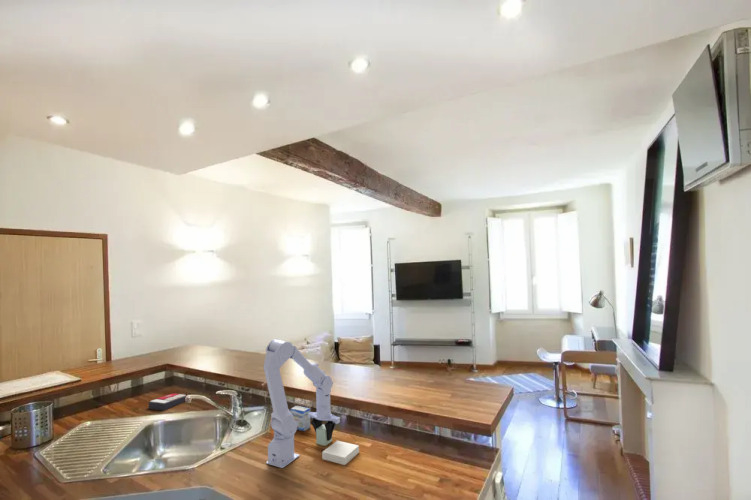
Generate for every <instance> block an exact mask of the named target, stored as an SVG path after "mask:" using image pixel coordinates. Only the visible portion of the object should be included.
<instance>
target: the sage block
mask: <svg viewBox="0 0 751 500" xmlns="http://www.w3.org/2000/svg"><path fill="white" fill-rule="evenodd" d="M315 437H316V439H315V440H316V444H317V445H320V446H325V447H326V446H328V445H329V444H331V442H333V437H332V438H331V439H330V440H329V441H327V432H326V428H325V424H322V425H321V426H320V427H318V428H317V429H316V432H315Z"/></svg>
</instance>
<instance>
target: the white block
mask: <svg viewBox="0 0 751 500" xmlns="http://www.w3.org/2000/svg"><path fill="white" fill-rule="evenodd" d="M321 453H322V454H321V455H322V456H321V457H322V460H324V461H327V462H333V463H336V464H339V465H342V466H345V465H347V464H348V463H349V462H350V461H351V460H352V459H354V458H355V457H356V456H357V455H358V454H359V453H360V445H358V444H355V443H350V442H345V441H341V440H335V442H333V443H332V444H330V446H328V447H327V448H325V449H324V450H323V451H322V452H321Z"/></svg>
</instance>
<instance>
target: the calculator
mask: <svg viewBox="0 0 751 500" xmlns="http://www.w3.org/2000/svg"><path fill="white" fill-rule="evenodd" d="M186 396H187V395H186V394H179V393H170V394H167V395H164V396H160V397H157V398H156V399H152V400H150V401H149V402H148V409H149V410H154V411H155V410H157V411H163V412H164V411H166V410H168V409H171V408H173V407H175V406H177V405H178V406H179V405H180V404H183V403H185V402H186V401H185V397H186ZM184 401H185V402H184Z"/></svg>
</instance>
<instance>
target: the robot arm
mask: <svg viewBox="0 0 751 500" xmlns="http://www.w3.org/2000/svg"><path fill="white" fill-rule="evenodd" d="M265 352H266V354H265V358H264V361H263V362H264V363H263V372H264V376H265V381H266V386H267V390H268V394H269V397H270V398H269V399H270V403H271V406H272V413H271V414H270V416H271V420H270V427H271V430H273V439H271V441H269V443H268V446H267V461H265V462H266V464H267V465H271V466H274V467H278V468H280V469H283V468H285V467H287V465H289V464H290V463H292V462H293V461H294V460H297V458H299V457H300V454H298V453H295V434H296V432H297V422H296V421H295V420H294V418H293V415H292V413H291V409H289V406H288V402H287V398H286V397H287V395H286V392H285V388H284V384H283V380H282V379H283V378H282V376H281V374H282V373H281V370H280V369H281V367H282V366H283V365H284V364H285V363H286V362H287V361H288V360H290V359H291V360H292V361H294V362H295V363H296V364H297V365H299V367H301V369H303V374H304V376H305V377H307V378H308V379H309V380H310V381H311V382H312V384H313V385H312V386H314V387H316V388H315V397H316V398H315V400H316V401H315V403H316V406H315V407H316V411H315V412H314V411H310V413H308V418H310V419H312V420H310V425H312V427H313V430H314V431H315V433H316V429H317V428H318V427H320V426H321V425H323V421H324V422H326V423H324V425H325V428H326V432H327V441H329V440H330V439H331V438H332V439H333V433H334V429H335V426H336V425H338V424H339V423H340V422H341V417H339V416H336V415H334V414H332V412H331V411H332V409H331V392H332V387H333V384H334V381H332V377H331V376H329V375H327V374H326V372H325V370H322V369H321V368H320V367H319V366H320V365H319V364H318V363H316V362H310V361H309V360H308V359H307V358H306V357H305V355H303V354H302V352H301V351H299V349H298V348H297V346H295V345H293V343H292V342H291V341H285V340H282V339H278V338H274V339H272V340H271V341H270V342H269V343H268V345H267V346H266V348H265Z"/></svg>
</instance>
